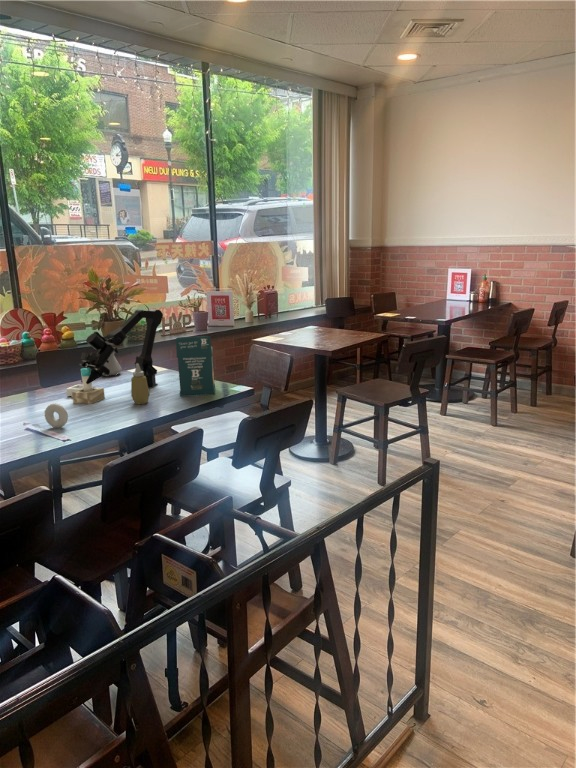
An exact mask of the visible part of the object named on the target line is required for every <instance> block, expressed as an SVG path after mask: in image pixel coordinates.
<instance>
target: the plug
mask: <svg viewBox="0 0 576 768" xmlns="http://www.w3.org/2000/svg"><path fill="white" fill-rule="evenodd" d="M80 374H81V380H82V382H83V383H82V382H81V383H82V385H83V390H84V392H91V391H93V389H92V387H93V382H91V383H89V384H87V383H86V382H87V379H88V378H89V376H90V374H91V370H90V368H83V367H82V368H80Z"/></svg>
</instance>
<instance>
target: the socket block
mask: <svg viewBox="0 0 576 768" xmlns="http://www.w3.org/2000/svg"><path fill="white" fill-rule="evenodd" d="M92 389H93V391H91V392H84V390H83V388H82V389H79V390H77V391H74V392H72V396H73V397H72V402H73V403H74V404H89V405H92V404H95V403H97V402H99V401H101V400H103V399H104V400H105V399H106V398H105V396H106V395H105V388H104V387H93V386H92ZM73 403H72V404H73Z"/></svg>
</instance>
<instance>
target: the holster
mask: <svg viewBox="0 0 576 768" xmlns="http://www.w3.org/2000/svg"><path fill="white" fill-rule="evenodd" d="M82 388H83V384H75V385H72V386H70V387H67V388H66V389H65V390H66V397H67V396H72V392H74V391H77V390H79V389H82ZM71 398H73V396H72V397H71Z"/></svg>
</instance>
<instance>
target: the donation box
mask: <svg viewBox="0 0 576 768" xmlns="http://www.w3.org/2000/svg"><path fill="white" fill-rule="evenodd" d="M211 341H212V340H211V336H209V335H203V336H202V335H200V336H183V337H182V336H181V337H180V336H179V337H176V338H175V346H176V347H175V349H176V358H177V365H178V366H177V367H178V368H177V369H178V378H179V380H178V381H179V397H192V396H194V397H195V396H212V395H213V396H215V393H216V392H215V391H216V384H215V375H214V361H213V359H214V358H213V352H214V351H213V350H214V349H213V346H212V343H211Z"/></svg>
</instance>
